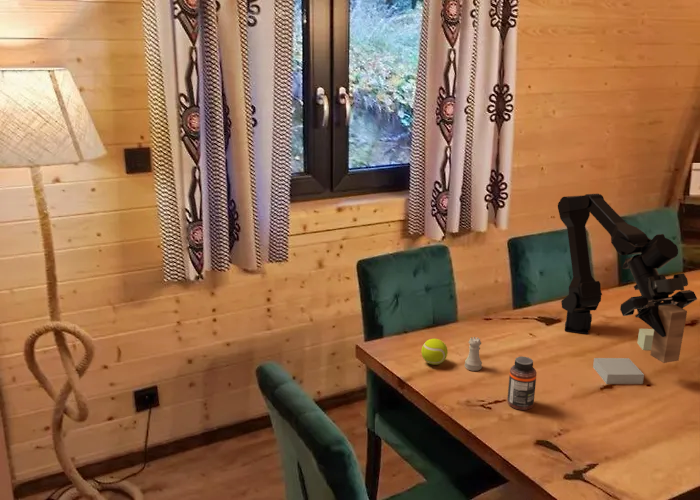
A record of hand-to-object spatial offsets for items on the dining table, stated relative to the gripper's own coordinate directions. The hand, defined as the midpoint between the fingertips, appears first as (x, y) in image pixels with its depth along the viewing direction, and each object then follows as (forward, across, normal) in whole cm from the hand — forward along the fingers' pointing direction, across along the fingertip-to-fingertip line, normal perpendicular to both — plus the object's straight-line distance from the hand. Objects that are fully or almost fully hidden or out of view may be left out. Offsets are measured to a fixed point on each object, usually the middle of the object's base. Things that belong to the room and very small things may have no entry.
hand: (672, 335), depth 163 cm
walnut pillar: (+4, 0, +6) cm, 7 cm away
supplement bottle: (+8, -39, +11) cm, 42 cm away
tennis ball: (-10, -50, +28) cm, 58 cm away
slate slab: (+4, -8, +15) cm, 17 cm away
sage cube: (-4, +12, +23) cm, 26 cm away
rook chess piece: (-6, -41, +25) cm, 48 cm away
